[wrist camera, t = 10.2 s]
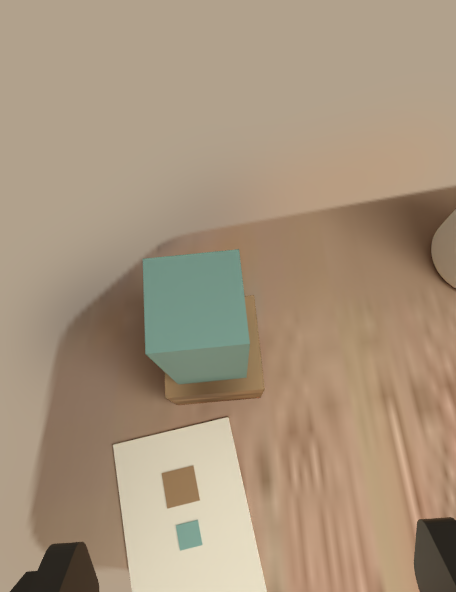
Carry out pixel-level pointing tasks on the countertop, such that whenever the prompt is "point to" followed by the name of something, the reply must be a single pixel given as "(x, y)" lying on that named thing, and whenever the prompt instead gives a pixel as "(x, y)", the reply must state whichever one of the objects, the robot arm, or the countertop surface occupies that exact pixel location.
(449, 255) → the milk bottle
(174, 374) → the teal brick
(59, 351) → the countertop surface
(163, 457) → the page
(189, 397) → the tower base
